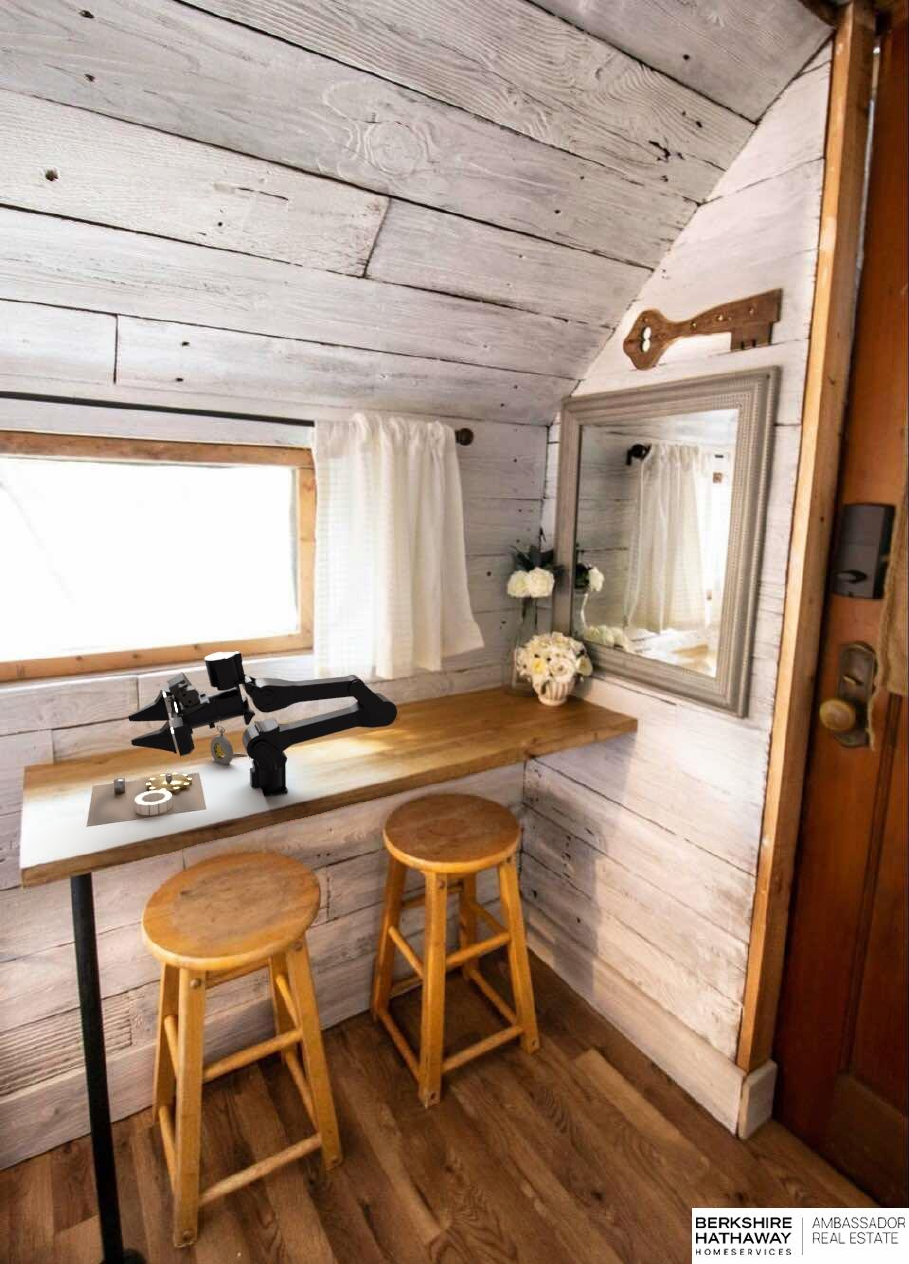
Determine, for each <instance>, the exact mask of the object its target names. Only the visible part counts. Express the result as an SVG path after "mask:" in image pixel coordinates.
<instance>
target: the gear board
mask: <svg viewBox="0 0 909 1264" xmlns="http://www.w3.org/2000/svg"><path fill="white" fill-rule="evenodd" d="M186 774H187V775H188V778H192V784H190V788H188V789H182V790H180V793H176V794H175V793H174V792H173V793H172V807H171V808H170V809H169V810H167V811H166V812H163V813H158V814H155V815H150V814H149V815H141V814H138V813H137V812H136V811H135V797H137V796H138V795H139V794H140V795H141V794H142V793H144V792H147V791H148V792H149V790H146V783H149V779H150V778H147V779H136V780H129V781H125V789H126V792H125V793H124V794H119V795H117V794H115V793H114V782H113V783H104V784H97V785H92V789H91V790H92V791H91V797H90V803H89V808H88V809H89V810H88V815H87V822H86V827H93V826H102V825H107V824H114V823H120V822H121V823H122V822H127V821H136V820H140V819H141V820H142V819H149V818H155V817H162V816H170V815H175V814H181V813H190V812H196V811H201V810H202V811H203V810H207V807H206V799H205V796H204V795H205V794H204V792H203V791H204V790H203V785H202V781H201V780H202V779H201V776H200V775H201V774H200V772H194V773H186Z"/></svg>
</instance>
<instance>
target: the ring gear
mask: <svg viewBox="0 0 909 1264" xmlns="http://www.w3.org/2000/svg"><path fill="white" fill-rule="evenodd" d="M171 807H172V793H171V792H168V791H166V790H158V791H157V790H153V791H149V792H148V791H147V792H144V793H142V794H141V795H140V794H139V795H138V796H137V797H135V811H136V812H137V813H138V814H141V815H149V814H150V815H155V814H158V813H163V812H166V811H167V810H169V809H170V808H171Z"/></svg>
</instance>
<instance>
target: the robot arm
mask: <svg viewBox="0 0 909 1264" xmlns="http://www.w3.org/2000/svg"><path fill="white" fill-rule="evenodd" d="M204 662H205V668H206V672H207V675H208V680H209V684H210V687H212V688H216V690H217V692H214V693H211V694H207V691H204V690H200V691H199V690H197V688H196V686H195V685H193V684H192V682H191V681H190V680H189V679H188V677H187V676H186V675H185V673H184V672H182V671H181V672H179V673H178V674H176V675H175V676H173V677H171V678H169V679H168V680H167V681H166V682H167V684H165V685H163V689H160V690H159V693H158V695H157V697H156V698H155V700H154V701H151V702H150V703H149V704H147V705H145V706H144V707H142V708H140V709H138V710H136V711H134V712H133V713H131V714H130V715H128V717H127V718H128V721H129V722H133V723H134V722H138V723H141V722H165V723H163V725H162V726H161V728H159V729H157V730H154V731H153V730H152V731H151V732H148V733H146V734H142V735H139V736H137V737H135V738H133V739H131V740H130V743H131V745H132V746H133V747H139V748H149V749H154V750H155V749H156V750H160V751H166V752H169V753H170V752H172V753H173V754H174V755H177V754H179V757H180V758H181V757H184V756H187V755H190V754H192V753H193V752H194V750H195V743H194V740H193V735H194V730H195V729H198V728H203V727H206V726H208V727H209V729H210V730H211V729H214V728H216V724H217V723H221V722H225V721H228V720H232V719H235V718H238V717H242V720H243V722H244V724H245V726H248V727H246V729H245V731H244V732H243V733H242V736H241V741H242V745H243V747H244V750H245V752H246V755H248V756H247V757H248V758H249V757H250V760H252V761H251V762H252V763H251V764H252V767H250V768H249V784H250V787H251V789H260V790H261V791H262V794H263V796H264V797H267V796H274V795H275V796H276V795H280V794H281V795H282V794H287V793H289V790H288V787H287V781H286V780H287V777H286V775H287V771H286V770H287V769H286V768H287V767H286V764H287V761H288V757H287V755H286V753H285V751H286V750H287V749H289V748H291V747H292V746H294V745H297V744H301V743H304V742H308V741H312V740H315V739H318V738H322V737H327V736H329V735H333V734H336V733H340V732H344V731H347V730H351V729H354V728H366V729H367V728H368V729H373V728H374V729H376V728H384V727H385V728H386V727H389V726H390V725H392V724H393V723H394V722H395V720H396V718H397V715H398V708H397V705H396V704H395V703H394V702H393V701H392V700H391V699H389V698H388V697H387V696H385V695H384V694H382V693H381V692H375V691H373V690H371V688H369V687H368V686H367V685H366V684H365V682H364V681H363V680H362V679H361V678H360V677H358V675H356V674H349V675H347V676H336V677H326V678H325V677H324V678H315V679H306V680H305V679H304V680H287V679H281V678H276V677H274V678H272V677H260V678H255V677H253V676H250V675H248V674H245V670H244V666H243V655H242V652H241V651H239V650H238V651H217V652H214V653H211V654H208V655H206V656H205V657H204ZM240 686H241V687H242V689H243V690H244V692H245V693H246V694H247V696H246V695H243V694H242V692H241V687H240ZM163 690H164V691H163ZM248 696H249V699H250V700H251V702H252V704H253V705H254V708H255V709H256V710H257V711H259V712H260V713H264V714H265V713H266V714H268V713H272V712H273V713H274V712H276V711H279V710H283V709H286V708H288V707H290V706H292V705H296V704H298V703H305V702H313V701H323V700H332V699H333V700H334V699H340V698H354V699H355V700H356V702H355V703H353V704H352V705H351V706H348V707H344V708H340V709H338V710H334V711H329V712H326V713H323V714H322V713H321V714H317V715H313V716H310V717H307V718H303V719H300V720H296V721H292V722H288V723H278V721H277V720H276V718H275V716H273V717H270V718H266V719H265V720H260V721H256V720H255V721H254V722H253V723H254V724H251V725H250V723H251V721H252V719H253V718H254V717H255V716H256V713H255V711H254V710H252V709H251V708H250V704H249V703H250V702H249V699H248ZM170 716H171V717H170ZM170 718H172V719H173V720H172V721H171V720H170ZM170 721H171V723H170ZM171 725H172V727H171ZM177 750H178V751H177Z"/></svg>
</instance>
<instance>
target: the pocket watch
mask: <svg viewBox="0 0 909 1264" xmlns="http://www.w3.org/2000/svg"><path fill="white" fill-rule="evenodd" d="M219 728H220V729H219ZM216 729H217V730H218V732H219V733H220V734H219V735H216V736H214V737H213V738H211V741H210V745H209V746H210V747H209V748H210V753H211V756H212V758H213V759H214V761H215V762H216V763H220V764H223V765H228V764H230V763H231V762H232V761H233V759H239V758H245V757H248V759H249V760H251V758H250V757H249V756H248V754H245V753H234V749H233V748H234V747H233V746H232V744H231V742H230V740H229V739H228V738H227V737H226V736H224V733H225V732H226V728H224V727H223V726H221V725H217V726H216Z"/></svg>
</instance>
